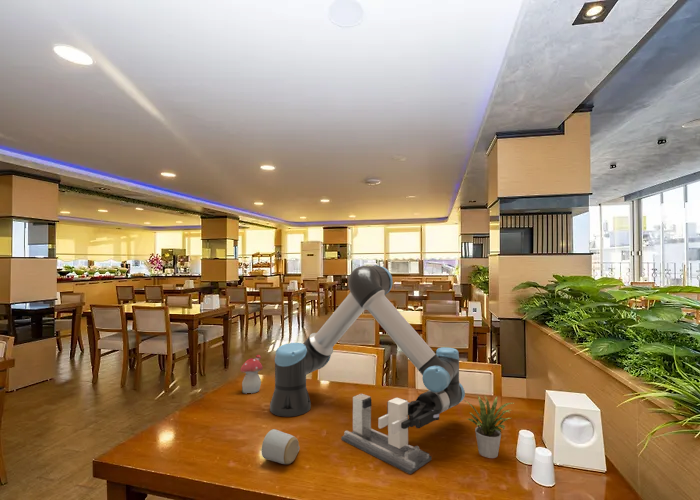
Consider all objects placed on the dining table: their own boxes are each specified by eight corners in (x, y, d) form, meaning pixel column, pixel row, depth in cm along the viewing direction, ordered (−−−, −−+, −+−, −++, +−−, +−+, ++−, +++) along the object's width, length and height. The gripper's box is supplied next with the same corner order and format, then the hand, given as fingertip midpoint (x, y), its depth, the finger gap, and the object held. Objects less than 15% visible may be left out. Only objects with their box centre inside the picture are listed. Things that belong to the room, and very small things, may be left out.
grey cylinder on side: (285, 471, 96) (286, 441, 97) (260, 464, 100) (261, 435, 100) (306, 452, 106) (306, 425, 106) (282, 446, 109) (283, 420, 110)
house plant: (531, 459, 102) (530, 400, 103) (499, 474, 95) (498, 410, 96) (488, 438, 114) (487, 385, 115) (457, 450, 107) (456, 393, 108)
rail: (341, 439, 113) (341, 397, 114) (363, 429, 120) (363, 389, 121) (410, 474, 95) (410, 423, 95) (431, 459, 102) (431, 412, 102)
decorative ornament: (261, 387, 160) (261, 353, 161) (263, 392, 154) (264, 356, 155) (239, 390, 157) (239, 355, 157) (240, 395, 151) (241, 358, 151)
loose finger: (386, 442, 105) (386, 400, 105) (395, 438, 107) (395, 396, 108) (399, 448, 101) (399, 404, 102) (408, 443, 104) (407, 401, 105)
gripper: (456, 423, 111) (411, 451, 94) (410, 407, 123) (363, 429, 107) (456, 398, 111) (411, 421, 95) (410, 384, 123) (363, 403, 107)
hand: (386, 426), depth 101 cm, fingers closed on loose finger, 4 cm apart
